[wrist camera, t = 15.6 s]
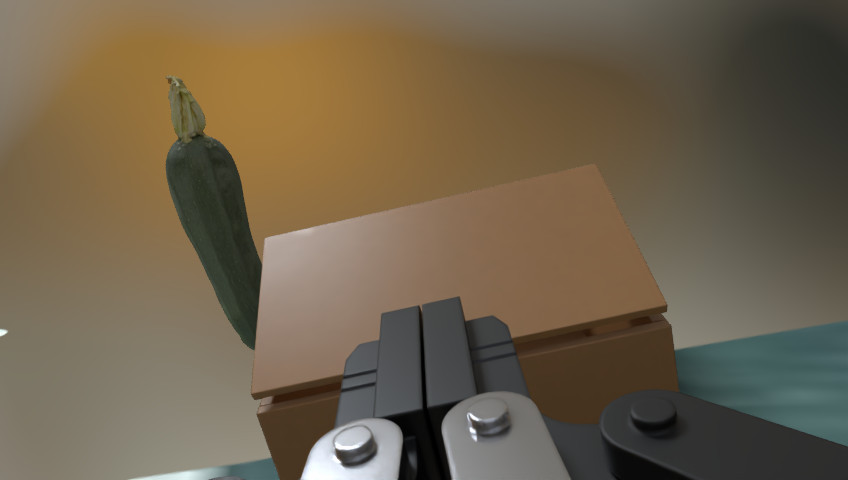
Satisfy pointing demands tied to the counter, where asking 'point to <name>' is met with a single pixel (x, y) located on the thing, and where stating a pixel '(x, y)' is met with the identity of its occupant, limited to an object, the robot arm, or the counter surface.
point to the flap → (449, 273)
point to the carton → (544, 375)
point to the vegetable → (213, 212)
